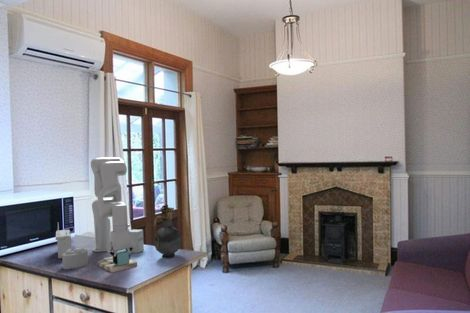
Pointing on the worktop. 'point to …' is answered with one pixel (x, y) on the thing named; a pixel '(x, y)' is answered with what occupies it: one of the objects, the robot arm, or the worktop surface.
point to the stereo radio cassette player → (63, 241)
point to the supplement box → (137, 240)
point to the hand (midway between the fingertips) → (121, 261)
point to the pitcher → (167, 234)
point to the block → (122, 257)
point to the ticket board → (110, 266)
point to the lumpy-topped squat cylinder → (75, 258)
